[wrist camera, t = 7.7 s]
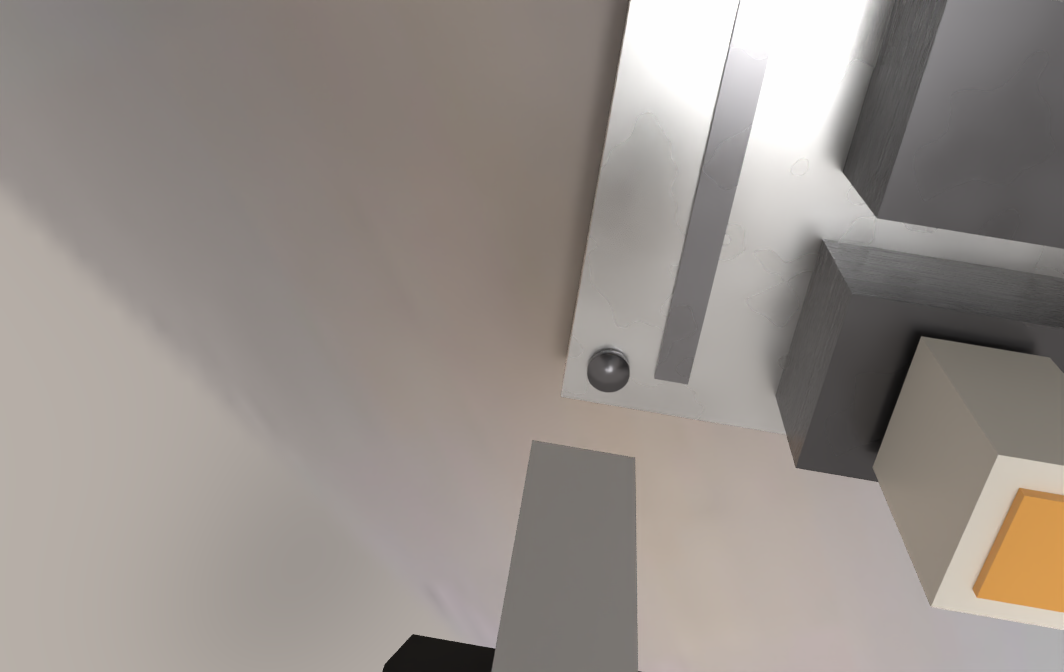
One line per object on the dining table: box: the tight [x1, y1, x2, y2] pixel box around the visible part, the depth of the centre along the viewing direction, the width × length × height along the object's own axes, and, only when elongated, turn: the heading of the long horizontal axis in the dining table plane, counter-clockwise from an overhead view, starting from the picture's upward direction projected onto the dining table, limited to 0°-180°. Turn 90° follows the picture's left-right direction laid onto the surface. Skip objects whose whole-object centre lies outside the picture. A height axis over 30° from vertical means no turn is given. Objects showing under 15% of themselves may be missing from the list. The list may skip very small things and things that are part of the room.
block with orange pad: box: [873, 336, 1064, 630], centre depth 16 cm, size 2×3×4 cm
